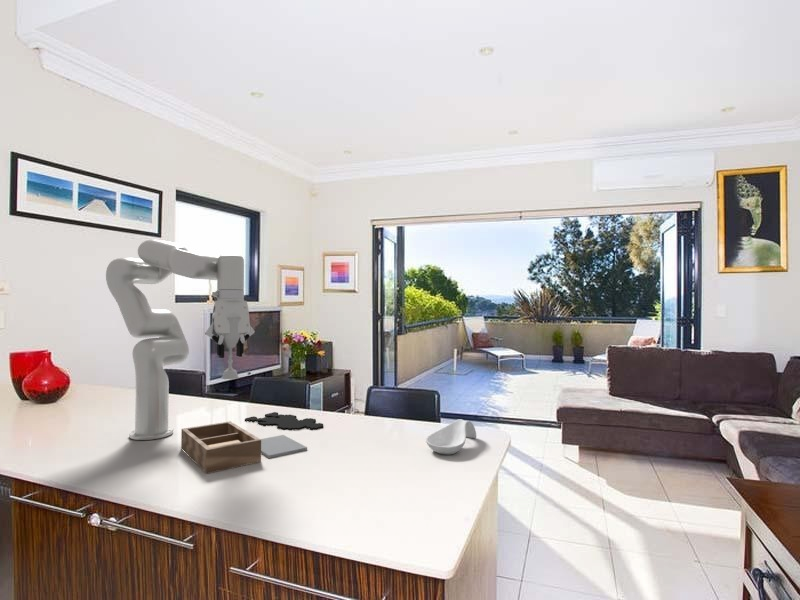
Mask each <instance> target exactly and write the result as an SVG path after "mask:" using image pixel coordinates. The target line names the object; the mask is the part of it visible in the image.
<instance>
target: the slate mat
mask: <svg viewBox="0 0 800 600" xmlns="http://www.w3.org/2000/svg"><path fill="white" fill-rule="evenodd" d="M260 439H261V453H262V454H261V455H263V456H265V457H266V458H268V459H272V458H278V457H280V456H285V455H291V454H294V453H295V454H297V453H301V452H304V451H305V452H306V451H307V450H308V447H307V446H305V445H304V444H302V443H300V442H298V441H296V440H294V439H292V438H290V437H288V436H286V435H285V434H279V435H276V436H269V437H266V438H260Z"/></svg>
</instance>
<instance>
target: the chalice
mask: <svg viewBox="0 0 800 600" xmlns="http://www.w3.org/2000/svg"><path fill="white" fill-rule="evenodd" d="M240 319H241V318H227V320H229V323H230V324H229V325H230V333H229V334H223V335H224V339H223V344H224V348H225V349H228V354H227V357H228V360H227V363H228V367H227V369H225V370H224V371H223V373H222V375H221V378H220V379H222V380H235V379H236V380H237V379H239V378H240V376H239V374H238V371H237V370H236V369H234V368H233V362H234V361H233V356H234V354H233V349H235V348H236V345H237V343H238V340H239V338H240V335H241V334H239V333H238V322H239V320H240Z"/></svg>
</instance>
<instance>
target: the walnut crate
mask: <svg viewBox="0 0 800 600" xmlns="http://www.w3.org/2000/svg"><path fill="white" fill-rule="evenodd" d="M180 436H181V437H180V439H181V442H180V443H181V446H180V448H182V449H183V450H184V451H185V452H186V453H187V454H188V455H189V456H188V455H187V454H186V453H185V452H184V451H183V450H182V449H181V450H182V451H183V452H184V453H185V454H186V455H187V456H188V458H190V457H191V458H192V459H193V460H194V461H195V462H196V463H197V464H198V465H199V466H200V467H201V470H202V471H204V472H205V474H211V473H215V472H219V471H224V470H229V468H230V469H233V468H232V467H234V468H237V466H239V467H242V466H241V465H243V466H247V465H246V464H248V465H252V464H256V462H257V463H261V462H262V454H261V439H262V438H259V437H258V436H255V435H254V434H252V433H250V432H249V431H247V430H246V429H244V428H243V427H241V426H238V424H235V423H234V422H233V421H229V420H228V421H224V422H216V423H211V424H205V425H199V426H198V425H197V426H191V427H186V428H181V435H180ZM234 440H239V441H240V443H235V444H229V445H224V446H219V447H213V448H210V447H209V446H207V445H212V444H218V443H223V442H229V441H234ZM191 458H190V459H191ZM192 459H191V460H192ZM193 460H192V461H193ZM194 461H193V462H194ZM195 462H194V463H195ZM196 463H195V464H196ZM251 463H252V464H251ZM197 464H196V465H197ZM198 465H197V466H198ZM199 466H198V467H199ZM200 467H199V468H200Z"/></svg>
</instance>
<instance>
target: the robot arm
mask: <svg viewBox="0 0 800 600" xmlns="http://www.w3.org/2000/svg"><path fill="white" fill-rule="evenodd" d="M137 256H138V258H136V257H135V258H134V257H119V258H116V259H113V260H111V261H110V262H109V264H108V265H107V267H106V271H105V283H106V285H107V288H108V290H109V292H110V293H111V295H112V297H113V299H114V300H115V302H116V303H117V305H118V308H119V311H120V312H121V313H120V314H121V315H122V319H123V321H124V323H125V326H126V328H127V330H128V332H129V335H131V336H132V338H136V339H141V340H140V341H138V342H137V343H136V344H135V345H134V346H133V349H132V359H133V361H132V362H133V364H134V371H135V405H134V406H135V411H134V412H135V415H134V416H135V418H134V421H135V422H134V430H132V431H131V432H129V438H130V439H132V440H135V441H149V440H156V439H157V440H158V439H163V438H166V437H169V436H171V435H172V434H173V433H174V428H173V427H170V426H169V399H170V398H169V397H170V395H169V394H170V393H169V392H170V390H169V388H170V385H169V384H170V382H169V375H168V374H167V372H166V370H165V368H164V367H165V366H172V365H178V364H182V363H183V362H185V361H186V360H187V359H188V357H189V354H190V349H189V348H190V347H189V344H188V341H187V339H186V336H185V334H184V331H183V329H182V327H181V325H180V322H179V320H178V318H177V316H176V315H175V314H174V312H172V311H170V310H168V309H162V308H161V309H156V308H155V309H153V307H151V305H150V304H149V302H148V299H147V296H146V295H145V294H144V293H143V291H141V290H140V289H139V288H138V287H137V286H135V284H140V285H156V284H159V283H162V282H163V281H164V280H165V279H167V278H168V277H170V276H171V275H172V274H175V275H177V276H181V277H185V278H189V279H193V280H194V279H195V280H209V281H216V282H217V284H216V285H217V286H216V291H212V293H211V295H212V297H214V298H216V299H217V300H214V303H213V309H212V310H213V311H212V314H211V315H212V317H211V324H210V326H208V328H207V329H206V330H205V332H204V335H205V336H207V337H208V338H209V339H211V340H212V341H213V342H214V343H215V344H216V355H217V356H218V358H220V359H224V358H225V346H224V343H223V339H224V335H223V334H229V333H230V325H229V324H230V323H229V320H227V318H241V319H240V320H239V322H238V333H239V334H241V335H240V338H239V340H238V342H237V345H236V347H235V348H236V352H235V353H236V356H237V357H240V358H242V357H243V354H244V353H245V352H244V349H245V348H244V345H245V343H246V341H247V340H248V339H249V338H250V337H251V336H252V335H253V334H255V332H256V331H255V329H254V328H253V327H252V326H251V324H250V322H251V321H250V313H249V305H248V301H247V300H245V259H244V257H243V256H242V255H239V254H229V253H228V254H221V255H219V256H218V255H214V254H213V255H212V254H204V253H197V252H192V251H189V250H188V249H187V248H186V247H184V246H183V245H180V244H179V243H177V242H172V241H167V240H159V239H148V240H145V241H143V242H141V243H140V244H139V246H138V248H137ZM215 334H217V335H215Z"/></svg>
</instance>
